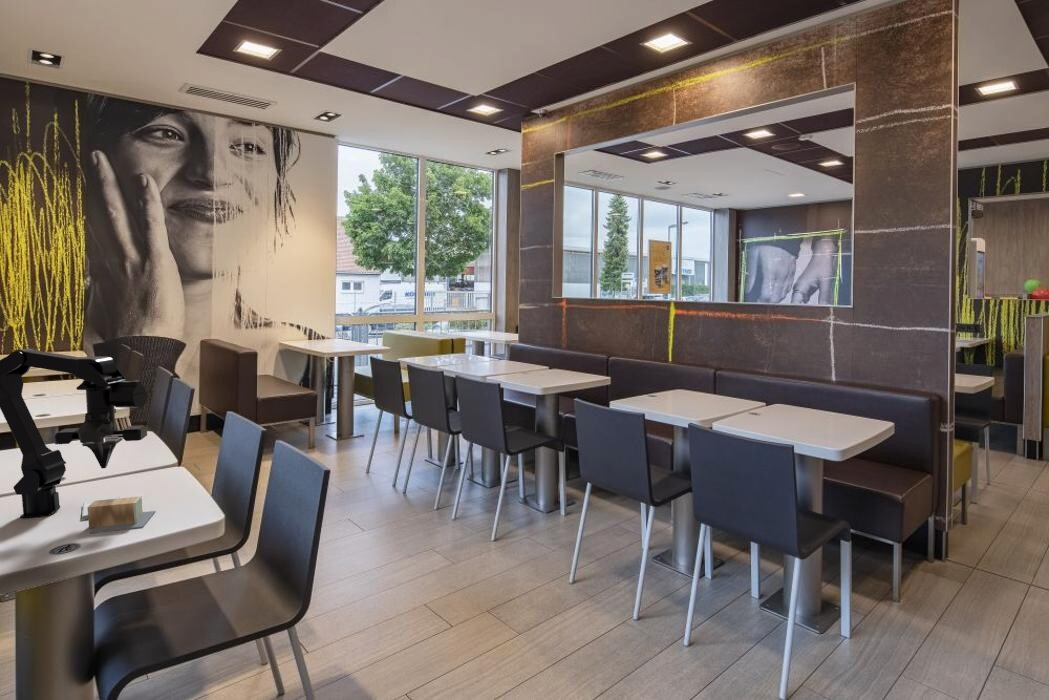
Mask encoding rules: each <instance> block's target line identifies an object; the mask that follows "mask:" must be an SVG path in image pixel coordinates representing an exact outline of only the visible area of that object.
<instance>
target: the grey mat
mask: <svg viewBox="0 0 1049 700" xmlns="http://www.w3.org/2000/svg"><path fill="white" fill-rule="evenodd" d="M155 513H156V510H152V511H150V510H149V511H143V516H142V517H141V519H140V520H139V521H138V522H137V523H131V524H121V525H112V526H102V527H93V528H91V530H90V531H89V534H95V533H105V532H112V531H113V532H115V531H124V530H132V529H133V530H134V529H143V528H144V527H145V526H146V525H147V523H148V522H149V521H150V520H151V518H152V517H153V516H154V515H155Z"/></svg>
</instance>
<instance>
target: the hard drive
mask: <svg viewBox="0 0 1049 700" xmlns="http://www.w3.org/2000/svg"><path fill="white" fill-rule="evenodd" d="M118 498H121V497H119V496H117V497H110V498H104V499H103V498H102V500H107V499H118ZM97 500H98V499H97ZM97 500H91V501H85V502H83V504H82V510H81V511H82V512H81V521H86V520H88V508H87V507H88V506H90V505H91V504H92V503H93V502H94V501H97Z"/></svg>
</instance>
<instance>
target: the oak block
mask: <svg viewBox="0 0 1049 700" xmlns="http://www.w3.org/2000/svg"><path fill="white" fill-rule="evenodd" d="M142 498H143V497H142V496H141V495H139V496H131V497H120V498H118V499H109V498H106V499H107V500H103V499H97V501H96V500H93V501H94V502H93V503H92V504H91V505H90V506H88V507H87V508H88V519H87V520H88V528H89V529H93V528H94V527H102V526H112V525H121V524H131V523H137V522H138V521H139V520H140V519H141V517H142V516H143V512H144V511H143V499H142Z"/></svg>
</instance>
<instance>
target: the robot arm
mask: <svg viewBox="0 0 1049 700" xmlns="http://www.w3.org/2000/svg"><path fill="white" fill-rule="evenodd" d="M31 368H35V369H43V370H48V371H49V370H50V371H54V372H55V371H56V372H61V373H66V374H71V375H72V376H74V377H75V378H77V379H79V380H82V382H81V383H80V384H79V385H78V386H76V387H75V388H76V390H77V391H85V397H86V398H85V400H86V413H85V415H84V422H83V423H82V424H81V425H80V427H76V428H75V427H73V428H64V429H62V430H60V431H57V432H56V434H55V435H54V437H53V438H54V444H55V445H69V444H71V443H72V442H73V441H74V440H79V443H80V444H81V445H82V447H87V448H88V449H90V450H91V452H92V453H93V455H94V457H95V459H96V461H97V462H98V464H99V466H100V469H106V468H107V466H108V465H109V462H110V459H111V457H112V454H113V451H114V449H115V448H116V446H117V444H118V443H120V442H121V441H125V442H136V441H141V440H143V439H144V438H145V437H147V436H148V429H147V426H146V425H143V424H141V425H129V426H127V427H126V428H124V429H118V425H117V424H116V413H117V409H116V408H122V409H123V408H131V409H132V408H133V409H135V408H136V409H139V408H140V409H142V408H143V407H145V405H146V403H147V400H148V391H147V390H146V388H145V387H144V385H142V380H141V379H140V380H138V379H136V380H128V379H127V378H126V376H125V375H124V374H123V372H122V371H121V370H120V369H119V367H118V366H117V364H116V361H114V358H112V357H110V356H104V355H103V356H101V355H100V356H72V355H69V354H68V355H67V354H59V353H55V352H48V351H41V350H36V349H34V348H23V349H16V350H13V351H12V352H11V353H9V354H8V355H7V356H5V357H3V358H1V359H0V411H1V413H2V414H3V418H4V419H5V421H6V423H7V425H8V427H9V430H10V432H11V434H12V436H13V438H14V440H15V442H16V444H17V446H18V447H19V450H20V452H21V454H22V459H21V465H20V470H21V473H22V475H23V476H22V477H21V478H20V479H19V480H18V481H17V482H16V483H15V485H13V487H12V488H13V490H14V492H15V494H16V495H18V496H20V495H21V499H22V501H21V502H22V503H21V504H22V505H21V506H22V511H23V512H22V514H21V515H20V517H19V518H20V519H23V518H24V519H25V518H26V519H27V518H34V517H35V518H36V517H45V516H51V515H52V514H53V513H55V512H56V511H57V510H59V509H60V508H61V505H60V496H59V492H58V491H56V490H57V488H56V487H57V486H58V485H60V484H61V481H62V479H63V476H64V475H65V472H67V469H66V468H67V467H66V464H67V462H66V461H65V460H64V458H63V456H62V453H61V451H60V450H59V449H56V450H55V449H54V450H52V449H51V448H50V447H48V446H47V445H46V443H45V441H44V439H43V438H42V435H41V433H40V431H39V428H38V427H37V424H36V423H35V421H34V418H33V416H32V414H31V412H30V410H29V408H28V406H27V404H26V401H25V399H24V398H23V388H24V381H23V376H24V375H25V374H27V373H28V372H29V371H30V369H31Z"/></svg>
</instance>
